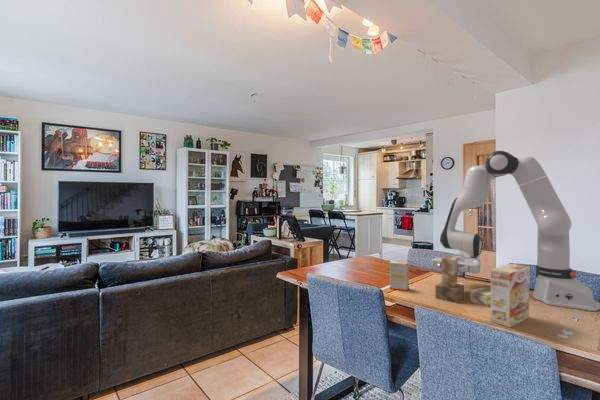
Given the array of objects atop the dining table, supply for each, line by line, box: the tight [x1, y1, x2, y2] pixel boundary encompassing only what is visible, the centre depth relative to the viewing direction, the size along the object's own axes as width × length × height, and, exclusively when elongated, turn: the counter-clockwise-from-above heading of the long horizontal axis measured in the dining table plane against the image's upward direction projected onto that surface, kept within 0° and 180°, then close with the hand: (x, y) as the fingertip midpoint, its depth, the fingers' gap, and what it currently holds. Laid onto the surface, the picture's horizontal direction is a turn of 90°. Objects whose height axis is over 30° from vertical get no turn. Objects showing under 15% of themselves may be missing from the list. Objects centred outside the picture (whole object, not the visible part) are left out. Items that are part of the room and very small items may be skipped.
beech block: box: [469, 286, 491, 308], centre depth 139 cm, size 8×8×5 cm
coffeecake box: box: [489, 263, 531, 328], centre depth 121 cm, size 15×7×20 cm, turn 123°
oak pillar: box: [441, 256, 459, 288], centre depth 145 cm, size 5×5×12 cm
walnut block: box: [435, 281, 465, 304], centre depth 145 cm, size 9×9×6 cm
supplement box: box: [389, 260, 410, 292], centre depth 160 cm, size 8×5×13 cm, turn 58°
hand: (449, 268), depth 144 cm, fingers open, 8 cm apart
